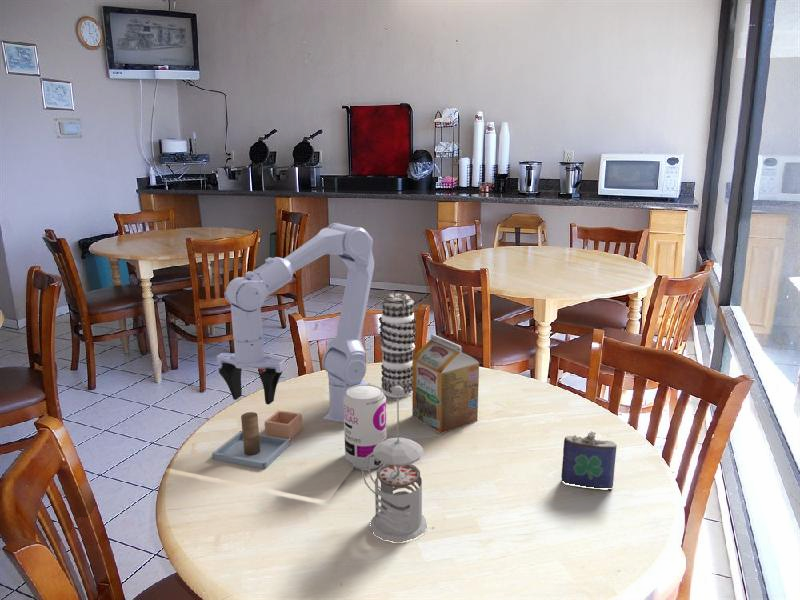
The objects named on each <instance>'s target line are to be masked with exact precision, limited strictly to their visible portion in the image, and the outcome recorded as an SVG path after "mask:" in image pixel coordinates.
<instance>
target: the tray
mask: <svg viewBox="0 0 800 600" xmlns="http://www.w3.org/2000/svg"><path fill="white" fill-rule="evenodd" d="M259 441H260V452H259V453H258V454H256V455H251V456H249V455H246V454H245V453H244V445H243V433H242V430H239V431H238V432H237V433H235V435H233V436H232V437H230V438H229V440H227V441H226V442H225V443H223V444H222V445H221V446H220V447H219V448H217V449H216V450H214V451H213V452H212V453H211V456H212V460H214V461H215V460H216V461H221V462H225V463H231V464H236V465H241V466H244V467H245V466H246V467H250V468H251V467H252V468H257V469H261V470H266V469H267V468H268V467H269V466H270V465H271V464H273V462H275V460H277V459H278V458H279V457H280V456H281V455H282V454H283V453H284V452H285V451H286V450H287V449H288V448H289V447H290V446H291V440H290V439H284V438H278V437H273V436H267V435H265V434H260V433H259Z"/></svg>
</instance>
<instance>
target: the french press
mask: <svg viewBox="0 0 800 600" xmlns="http://www.w3.org/2000/svg"><path fill="white" fill-rule="evenodd" d="M403 393H404V392H403V388H402V387H401V386H398V385H397V386H394V387H393V388H392V394H393V395H397V398H396V403H397V404H396V405H397V407H396V408H397V409H396V411H397V412H396V413H397V414H396V415H397V418H396V419H397V421H396V423H397V424H396V425H397V437H390V438H387V440H385V441H383V442H381V443H379V444H377V445H376V447H375V448H374V451H373V452H372V453H371V454H370V455H368V456H367V457H365V459H364V461H363V463H362V470H361V474H362V477H363V481H364V484H365V485H366V486H367V488H368V489H369V491H371V492H372V493H373V494H374V498H375V499H374V500H375V502H374V503H375V507H374V508H375V514H374V515H375V516H374V515H373V516H372V517H371V520H370V521H371V522H370V521H369V530H370V529H371V530H372V531H373V532H374V534H375V535H376V536H378V537H380V538H382V539H383V540H389V541H393V542H403V541H407V540H410V539H414V538H416V537H418V536H419V535H421V534H422V533H424V532H425V529H426V528H427V523H428V522H427V523H426V519H427V518H426V517H425V516H424V514H423V483H422V482H423V480H422V477H421V471H420V469H419V468H418V467H417V466H416V465H413V464H414V463H416V462H417V461H420V459H421V458H422V456H423V454H424V448H423V447H422V446H421V445H420V444H419V443H418V442H416V441H414V440H412V439H410V438H409V439H408V438H405V437H400V423H399V422H400V421H399V419H400V417H399V415H400V413H399V412H400V411H399V401H400V400H399V399H400V398H399V395H402V394H403ZM372 455H374V456H375V460H376V461H381V462H383V464H384V465H383V464H382V465H381V466H379V467H378V468H377V471H376V477H375V480H374V479H373V476H372V473H371V471H370V469H369V460H370V457H371V456H372ZM368 457H369V458H368ZM367 458H368V470H367V472H368V474H369V477H370V480H371V481H372V483H373V484H374V490H373V489H372V488H371V486H370V485H369V484H368V483H367V481H366V479H365V478H366V477H365V474H364V471H365V470H363V465H364V462H365V460H366V459H367ZM377 459H378V460H377ZM379 482H380V485H379ZM415 483H416V484H417V485H416V484H415ZM411 485H412V486H411ZM413 487H414V488H415V489H414V488H413ZM400 489H406V490H401V491H397V492H394V491H396V490H400ZM407 490H409V491H411V492H409V491H407ZM379 497H380V498H379ZM379 504H380V505H379ZM379 510H380V511H379ZM422 514H423V515H422ZM425 518H426V519H425ZM370 523H371V524H370ZM370 525H371V526H370ZM427 529H428V528H427ZM371 530H370V531H371ZM372 531H371V532H372ZM425 533H426V532H425ZM374 534H373V535H374ZM376 536H375V537H376Z"/></svg>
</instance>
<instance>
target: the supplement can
mask: <svg viewBox="0 0 800 600" xmlns="http://www.w3.org/2000/svg"><path fill="white" fill-rule="evenodd" d="M382 389H383V388H382V387H380V386H379V385H375V384H371V385H369V384H362V385H356V386H353V387H350V388H349V389H348V390H347V392H346V395H345V397H344V399H343V405H344V422H343V428H344V429H343V430H344V453H345V454H344V456H345V462H346V463H347V464H348V465H349V466H350V467H353V469H357V470H360V471H362V463H363V461H364V459H365V457H367V456H368V455H370V454H371V453H372V452H373V451H374V448H375V447H376V445H377V444H379V443H381V442H383V441H385V440H387V439H388V438H387V437H388V436H387V396H386V395H384V394H383V391H382ZM368 458H369V457H368ZM368 458H367V459H366V460H365V462H364V465H363V470H364V471H368ZM377 460H378V459H377ZM383 464H384V463H383V462H381V461H376V460H375V456H374V455H372V456H371V457H370V460H369V469H370V470H375V469H378V468H380V467H382V466H383Z"/></svg>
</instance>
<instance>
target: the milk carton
mask: <svg viewBox="0 0 800 600" xmlns="http://www.w3.org/2000/svg"><path fill="white" fill-rule="evenodd" d="M462 351H463V349H462V346H461V345H459V344H457V343H456V342H455V343H454V342H453V341H450V340H448V339H445V338H443V337H441V336H438V335H436V334H434V333H431V334H430V340H429V341H427V342H426V343H425V344H424V345H423V346H421V348H420V349H418V351H417V352H416V353H415V354H414V355H413V359H412V395H411V397H412V400H411V401H412V402H411V403H412V410H411V411H412V417H414V418H416V419H417V420H418V421H419V422H422V423H423V424H425V425H426V426H428V427H429V428H431V429H432V430H434V431H436V432H437V433H439V434H443V433H447V432H450V431H452V430H455V429H458V428H461V427H464V426H468V425H470V424H472V423H476V422H478V419H479V418H478V414H479V413H478V409H479V385H480V384H479V381H480V380H479V379H480V377H479V375H480V362H479V361H478V360H477V359H476V358H474V357H473V356H471V355H468V354H466V353H464V352H462Z"/></svg>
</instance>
